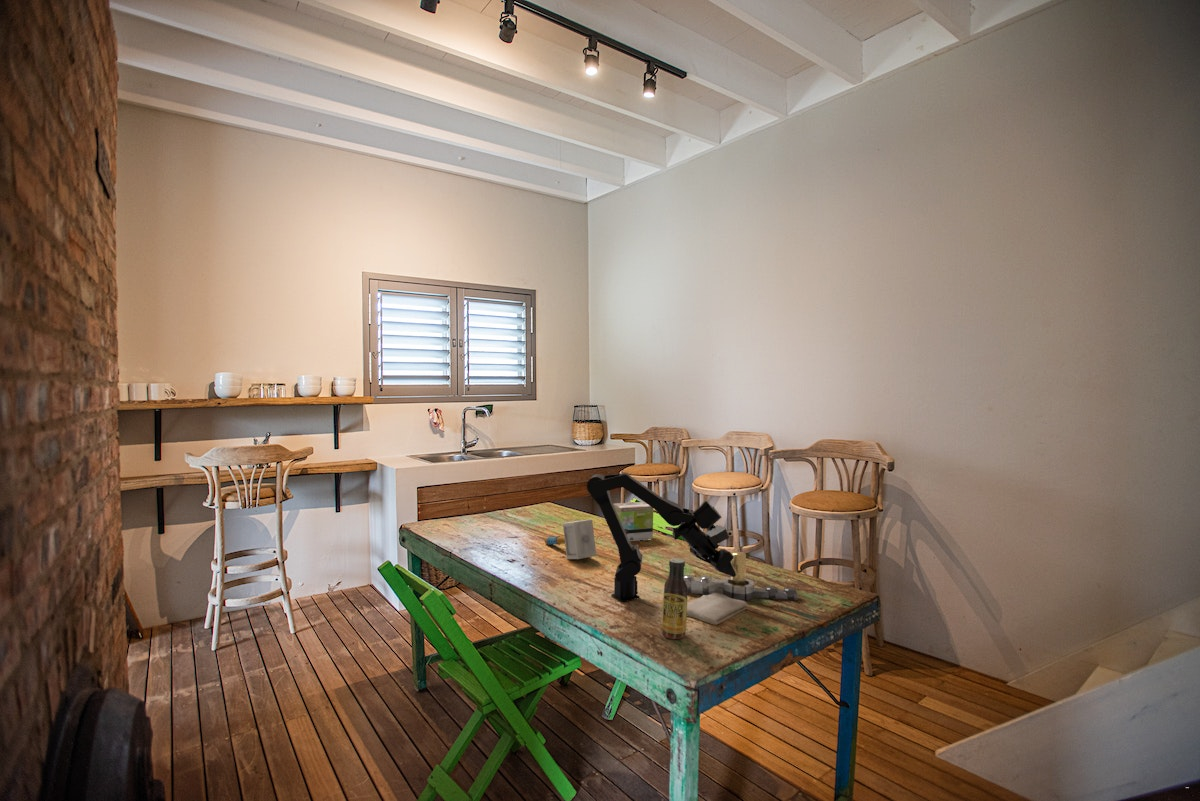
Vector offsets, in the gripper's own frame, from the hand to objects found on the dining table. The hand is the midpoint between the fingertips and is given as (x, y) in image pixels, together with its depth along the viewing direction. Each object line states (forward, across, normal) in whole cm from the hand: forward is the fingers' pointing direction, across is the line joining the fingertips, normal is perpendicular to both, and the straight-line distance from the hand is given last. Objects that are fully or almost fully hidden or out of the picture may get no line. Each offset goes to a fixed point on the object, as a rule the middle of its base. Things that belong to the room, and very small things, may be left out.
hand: (727, 571), depth 181 cm
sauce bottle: (-14, -22, +25) cm, 36 cm away
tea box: (+2, +72, +9) cm, 72 cm away
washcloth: (0, -10, +13) cm, 16 cm away
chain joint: (+8, 0, +3) cm, 9 cm away
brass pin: (+8, 0, +3) cm, 9 cm away
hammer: (-20, +60, +32) cm, 70 cm away
